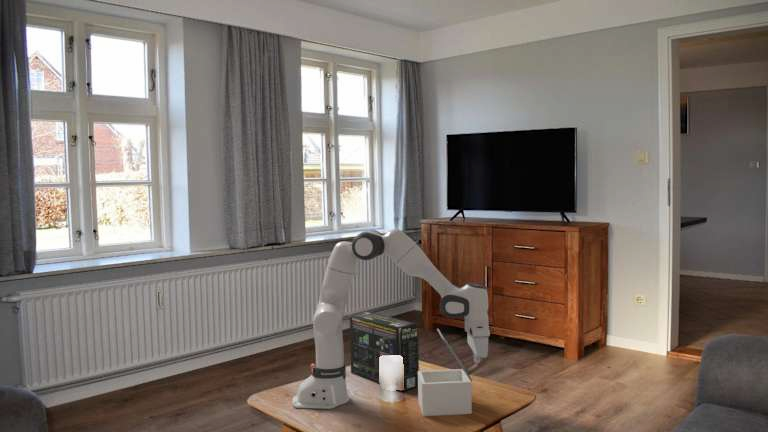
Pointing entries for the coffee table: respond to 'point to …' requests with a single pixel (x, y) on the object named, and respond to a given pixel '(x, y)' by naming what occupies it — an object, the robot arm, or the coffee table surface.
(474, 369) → the lid flap
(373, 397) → the coffee table surface
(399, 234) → the robot arm
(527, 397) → the coffee table surface
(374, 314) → the router box
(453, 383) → the carton
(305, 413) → the coffee table surface
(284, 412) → the coffee table surface
